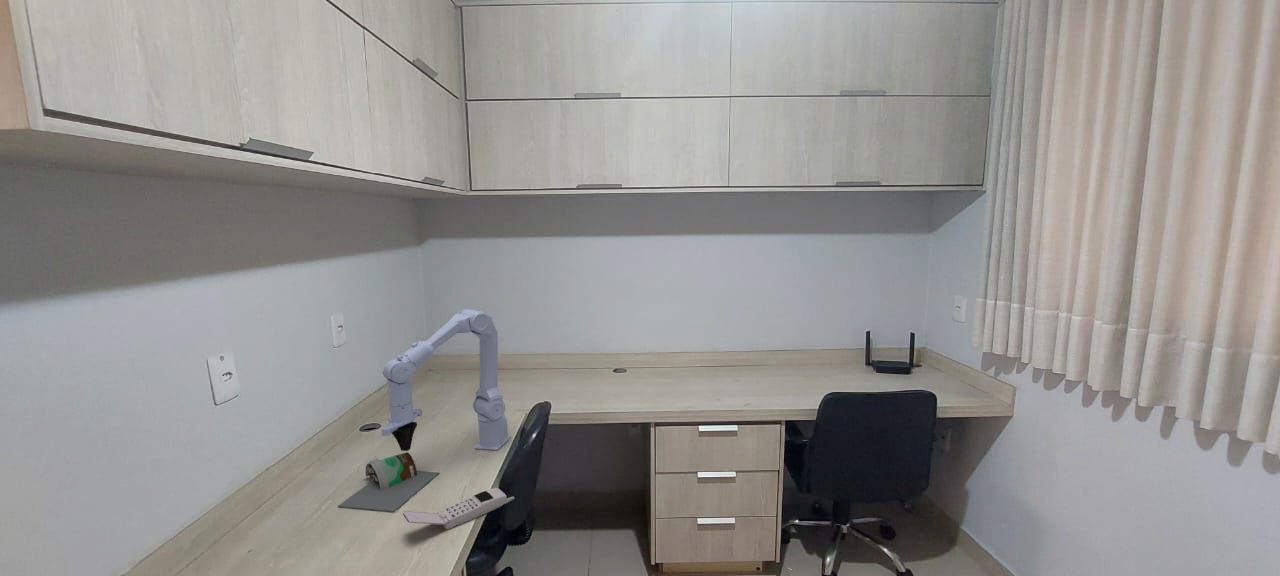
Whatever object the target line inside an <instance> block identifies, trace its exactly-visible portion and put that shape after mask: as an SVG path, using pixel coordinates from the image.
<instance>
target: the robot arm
mask: <svg viewBox="0 0 1280 576" xmlns="http://www.w3.org/2000/svg"><path fill="white" fill-rule="evenodd" d="M465 333H467V334H469V333H472V335H474V336H475V337H477V338H478V339H479V387H478V389H477V390H476V391H475V398H474V400H473V403H472V408H473V410H474V412H475V413H476V414H477V423H478V425H477V426H478V435H479V442H478V443H477V444H476V445H475V446H474V449H475V450H489V451H490V450H491V451H498V450H499V449H500V448H501V447H503V446H504V445H505V443H507V441H509V440H510V439H511V435H509V433H508V432H509V431H508V419H507V416H506V415H505V412H506V405H505V402H504V398H503V394H502V392H501V391H500V389H499V387H498V386H499V385H498V384H499V383H498V378H499V377H498V375H499V373H498V371H499V369H498V365H499V364H498V363H499V362H498V361H499V360H498V358H499V356H498V354H499V351H498V350H499V349H498V348H499V347H498V346H499V345H498V344H499V343H498V341H499V340H498V339H499V337H498V335H499V333H498V330H497V328H496V326H495V323H494V322H493V317H492V316H491V315H489V314H488V313H487V312H485V311H483V310H482V311H479V310H474V309H472V308H464V309H461V310H459V312H458V313H456V314H454V315H453V316H452V317H451V318H450V320H448V322H446V323H444V325H443V326H442V327H441V328H439V329H438V330H437V331H436V332H434V334H433V335H431V336H430V337H429V338H428V339H427V340H425V341H423V340H419V341H418V342H416V341H414V342H413V343H412V344H411V347H410V348H409V349H407V350H405V351H404V352H403V353H402V354H398V355H397V358H395V359H391V360H389V361H388V362H386V364H384V365H385V366H384V368H383V370H382V371H381V372H382V376H383V377H384V378H385V379H387V380H386V381H387V392H388V393H387V394H388V403H389V404H388V405H389V412H390V413H389V414H390V417H389V418H388V419H387V420H388V422H387V423H386V425H384V427H382V428H381V430H380V431H381V435H382V437H390V436H391V435H393V437H394V438H395V440H396V442H397V444H398V446H399V449H400V451H402V452H403V451H404V452H408V451H410V450H411V447H412V441H413V437H414V434H415V431H416V428H417V426H418V423H417V421H415V420H416V419H417V417H422V416H423V409H422V408H418V407H416V408H414V404H413V391H412V385H411V379H412V378H413V375H414V374H415V371H417V370H418V369H419V368H420V367H422V365H425V363H427V362H428V361H429V360H430V359H432V358H433V357H434V353H435V350H437V349H438V348H439V347H440V346H442V345H444V343H446V342H448V341H449V340H450V339H452V338H453V337H454V336H455V335H456V336H457V334H465Z"/></svg>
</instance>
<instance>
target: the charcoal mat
mask: <svg viewBox="0 0 1280 576" xmlns="http://www.w3.org/2000/svg"><path fill="white" fill-rule="evenodd" d="M439 475H440V472H437V471H425V470H424V471H422V470H417V475H415V476H413V477H411V478H409V479H406V480H404V481H402V482H400V483H397V484H395V485H393V486H390V487H389V489H385V490H380V485H379V484H377V483H375V482H374V480H371V482H369V483H368V484H366V485H365V486H363V487H362V488H360V489H359V490H358V491H356V492H355V493H353V494H352V495H351V496H349V497H347V498H346V499H345V500H344V501H342V502H341V503H340V504H338V505H337V508H338V509H339V508H341V509H351V510H364V511H373V512H374V511H376V512H382V513H383V512H386V513H393V512H394V513H396V512H397V511H398V510H399V509H400V508H401V507H403V506H404V505H405V504H406V503H407V502H409V501H410V500H411V499H412V498H413V497H415V496H416V495H417V492H418V491H419V492H420V491H421V490H422V489H423V488H425V487H426V486H427V485H428V484H429V483H430V482H431V480H432V479H433V478H434V477H435V478H436V477H438V476H439ZM435 478H434V479H435ZM434 479H433V480H434ZM433 480H432V481H433ZM428 482H429V483H428ZM427 483H428V484H427ZM426 484H427V485H426ZM425 485H426V486H425ZM424 486H425V487H424ZM419 492H418V493H419ZM412 496H413V497H412ZM411 497H412V498H411ZM410 498H411V499H410ZM409 499H410V500H409ZM402 505H403V506H402ZM396 510H397V511H396ZM395 511H396V512H395Z"/></svg>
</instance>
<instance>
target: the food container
mask: <svg viewBox="0 0 1280 576" xmlns="http://www.w3.org/2000/svg"><path fill="white" fill-rule="evenodd" d="M417 471H418V470H417V467H416V464H415V460H414V458H413V457H412V455H411V454H410V453H409V452H408V451H405V452H402V453H400V454H396V455H393V456H389V457H385V458H382V459H379V458H373V459H372V460H370V461H369V462H368V463H366V466H365V478H366V477H371V478H372V479H373V480H374V482H375V483H377V484H379V485H380V490H385V489H389V487H390V486H393V485H395V484H397V483H400V482H402V481H404V480H406V479H409V478H411V477H413V476H415V475H417ZM373 480H372V481H373Z"/></svg>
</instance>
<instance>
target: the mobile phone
mask: <svg viewBox="0 0 1280 576" xmlns="http://www.w3.org/2000/svg"><path fill="white" fill-rule="evenodd" d="M513 500H515V497H514V495H513V496H510V497H508V498H507V495H506V494H505V492H504V491H502V490H501V489H500V488H499V487H494V488H489V489H486V490H484V491H480V492H478V493H475V494H473V495H472V496H471V497H469V498H466V499H464V500H462V501H459V502H458V503H455V504H452V505H451V506H448V507H445V508H444V509H441V510H438V511H437V512H430V511H429V512H426V511H415V510H405V509H404V510H403V512H402V515H403V517H404V518H405V519H406V521H407V522H408V523H409V524H423V525H424V524H425V525H439V526H440V525H441V526H442V527H444V529H445V530H446V529H447V530H450V529H452V528H451V527H453V528H455V527H457V526H460V525H461V524H465V523H467V522H469V521H472V520H474V519H476V518H478V517H481V516H483V515H486V514H488V513H490V512H493V511H495V510H497V509H498V508H500V507H502V506H504V505H505V504H508V503H510V502H511V501H513ZM464 522H465V523H464ZM459 524H460V525H459ZM456 525H457V526H456ZM454 526H455V527H454ZM449 528H450V529H449Z"/></svg>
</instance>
